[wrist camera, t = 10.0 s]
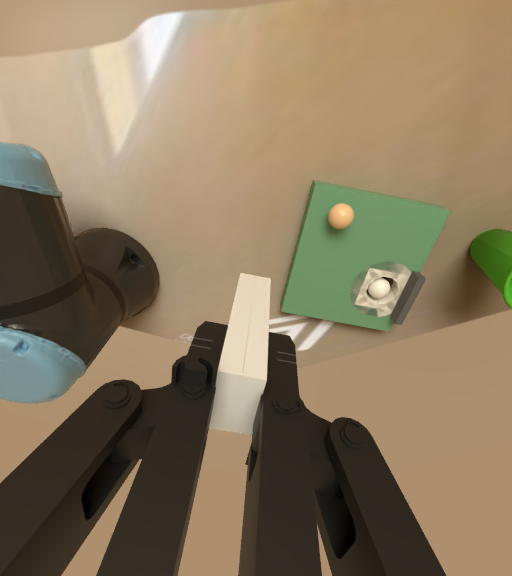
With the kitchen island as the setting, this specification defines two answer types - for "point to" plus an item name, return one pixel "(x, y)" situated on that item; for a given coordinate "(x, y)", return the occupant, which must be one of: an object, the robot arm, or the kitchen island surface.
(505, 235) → the cup
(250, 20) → the kitchen island surface
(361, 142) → the kitchen island surface
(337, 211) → the brown egg
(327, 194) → the putting mat
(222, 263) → the kitchen island surface
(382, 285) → the ball
